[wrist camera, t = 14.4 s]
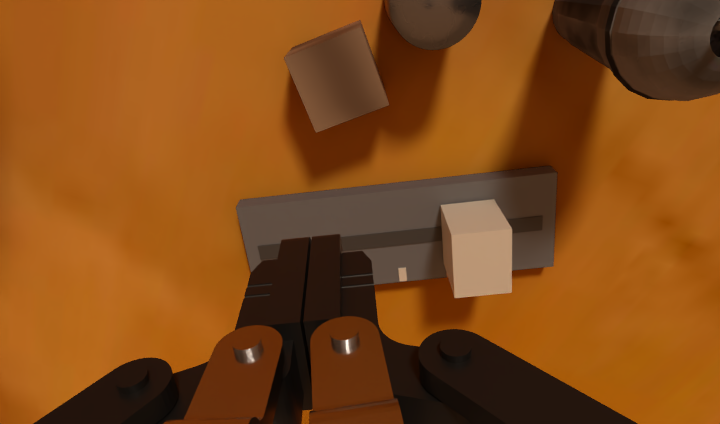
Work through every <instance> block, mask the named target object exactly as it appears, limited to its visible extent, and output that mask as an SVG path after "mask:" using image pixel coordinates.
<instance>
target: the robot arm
mask: <svg viewBox="0 0 720 424" xmlns="http://www.w3.org/2000/svg"><path fill="white" fill-rule="evenodd" d="M312 409H313V411H310V413H309V424H637V423H636V422H634V421H632V420H630V419H628V418H627V417H625V416H623V415H621V414H619V413H618V412H616V411H614V410H612V409H610V408H609V407H607V406H605V405H603V404H601V403H600V402H598V401H596V400H594V399H592V398H591V397H589V396H587V395H585V394H584V393H582V392H580V391H578V390H576V389H575V388H573V387H571V386H569V385H567V384H566V383H564V382H562V381H560V380H558V379H557V378H555V377H553V376H551V375H549V374H548V373H546V372H544V371H542V370H540V369H539V368H537V367H535V366H533V365H531V364H530V363H528V362H526V361H524V360H522V359H521V358H519V357H517V356H515V355H514V354H512V353H510V352H508V351H506V350H505V349H503V348H501V347H499V346H497V345H496V344H494V343H492V342H490V341H488V340H487V339H485V338H483V337H481V336H479V335H477V334H475V333H473V332H470V331H465V330H458V329H450V330H443V331H439V332H436V333H434V334H432V335H430V336H428V337H427V338H426V339H425V340H424V341H423V342H422V343H421V345H420V347H418V346H410V345H405V344H401V343H398V342H396V341H393V340H391V339H390V338H388V337H387V336H386V335H385V334H383V332H382V331H381V330H380V328H379V325H378V318H377V308H376V299H375V289H374V280H373V270H372V261H371V259H370V258H369V257H368V256H367V255H366V254H365V253H364V252H363V251H354V252H344V253H343V249H342V241H341V235H340V234H333V235H323V236H313V237H312V240H311V238H310V237H304V238H293V239H283V240H281V244H280V248H279V253H278V258H277V259H274V260H263V261H262V262H261V263H260V264H259V265H258V266H257V267H256V268H255V269H254V270H253V271H252V272H251V275H250V278H249V282H248V288H247V289H246V292H245V298H244V299H243V303H242V306H241V310H240V313H239V317H238V321H237V324H236V328H235V330H234V331H232V332H230V333H229V334H227V335H226V336H224V337H223V338H222V339H221V340H220V341H219V342H218V343H217V345H216V346H215V348H214V350H213V353H212V355H211V357H210V359H209V361H208V362H206V363H204V364H201V365H198V366H196V367H193V368H189V369H186V370H183V371H180V372H177V373H174V374H173V373H172V370H171V367H170V365H169V364H168V363H167V362H166V361H164V360H162V359H158V358H142V359H137V360H134V361H131V362H128V363H125V364H123V365H121V366H119V367H118V368H116V369H114V370H113V371H111V372H110V373H108V374H107V375H105V376H104V377H102V378H101V379H99V380H98V381H96V382H95V383H93V384H92V385H90V386H89V387H87V388H86V389H84V390H83V391H81V392H80V393H78V394H77V395H75V396H74V397H72V398H71V399H70V400H68V401H67V402H65V403H64V404H62V405H61V406H59V407H58V408H56V409H55V410H53V411H52V412H50V413H49V414H47V415H46V416H44V417H43V418H41V419H40V420H38V421H37V422H35V423H34V424H301V422H302V410H312Z"/></svg>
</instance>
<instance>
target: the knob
mask: <svg viewBox="0 0 720 424" xmlns="http://www.w3.org/2000/svg"><path fill="white" fill-rule="evenodd" d="M440 206H441V224H442V242H443V260H444V265H445V269H446V272H447V275H448V278H449V282H450V285H451V288H452V292H453V295H454V298H462V297H472V296H482V295H492V294H502V293H512V228H511V226H510V225H509V223H508V221H507V220H506V218H505V216H504V215H503V213H502V212H501V210H500V208H499V207H498V205H497V203H496V202H495V200H494V199H491V200H482V201H472V202H463V203H454V204H445V205H440Z"/></svg>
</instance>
